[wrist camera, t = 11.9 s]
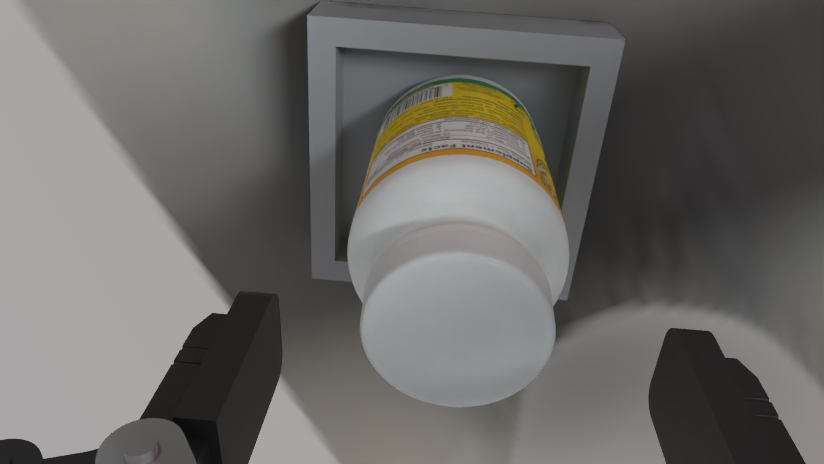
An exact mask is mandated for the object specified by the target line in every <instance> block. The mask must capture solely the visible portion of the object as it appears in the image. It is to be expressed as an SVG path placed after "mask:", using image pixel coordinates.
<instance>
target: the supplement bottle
mask: <svg viewBox="0 0 824 464" xmlns="http://www.w3.org/2000/svg"><path fill="white" fill-rule="evenodd" d="M347 257H348V266H349V272H350V276H351V279H352V283H353V285H354V288H355V291H356V292H357V294H358V296H359V298H360V300H361V302H362V303H363V305H362V311H361V317H360V336H361V341H362V345H363V348H364V351H365V353H366V356H367V358H368V360H369V361H370V363H371V364H372V366H373V367H374V369H375V370H376V371H377V372H378V373H379V375H380V376H381V377H382V378H383V379H384V380H385V381H387V382H388V383H389V384H390V385H392V386H393V387H394V388H396V389H398V390H399V391H401V392H403V393H404V394H406V395H408V396H411V397H413V398H415V399H418V400H421V401H424V402H427V403H430V404H435V405H441V406H448V407H472V406H479V405H487V404H491V403H494V402H497V401H500V400H502V399H505V398H507V397H509V396H511V395H513V394H515V393H517V392H518V391H520V390H522V389H523V388H525V387H526V386H527V385H528V384H530V383H531V382H532V381H533V380H534V379H535V378H536V377H537V376H538V374H539V373H540V372H541V371H542V370H543V368H544V366H545V365H546V363H547V362H548V360H549V358H550V355H551V353H552V349H553V346H554V342H555V338H556V327H555V318H554V310H553V306H554V304H555V303H556V301H557V299H558V297H559V295H560V293H561V291H562V289H563V286H564V283H565V280H566V277H567V273H568V266H569V243H568V237H567V232H566V227H565V223H564V220H563V216H562V213H561V210H560V206H559V201H558V198H557V195H556V191H555V188H554V185H553V181H552V177H551V174H550V172H549V169H548V166H547V161H546V159H545V155H544V152H543V148H542V144H541V141H540V138H539V135H538V133H537V130H536V128H535V126H534V123H533V121H532V118H531V116H530V115H529V113H528V111H527V109H526V108H525V106H524V105H523V104H522V102H521V101H520V100H519V99H518V98H517V97H516V96H515V95H514V94H513V93H511V92H510V91H509V90H507V89H506V88H504V87H503V86H501V85H499V84H497V83H495V82H493V81H490V80H487V79H484V78H481V77H476V76H471V75H448V76H441V77H437V78H434V79H430V80H428V81H425V82H423V83H421V84H419V85H417V86H415V87H413V88H412V89H410V90H409V91H407V92H406V93H405V94H404V95H402V96H401V97H400V98H399V99H398V100H397V101H396V102H395V103H394V105H393V106H392V107H391V108H390V110H389V111H388V113H387V114H386V116H385V118H384V120H383V122H382V124H381V126H380V129H379V131H378V135H377V140H376V143H375V146H374V150H373V153H372V157H371V160H370V163H369V167H368V171H367V174H366V178H365V181H364V185H363V189H362V192H361V195H360V199H359V202H358V205H357V209H356V212H355V215H354V218H353V222H352V225H351V229H350V233H349V239H348V249H347Z"/></svg>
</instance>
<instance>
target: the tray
mask: <svg viewBox="0 0 824 464" xmlns="http://www.w3.org/2000/svg"><path fill="white" fill-rule="evenodd" d="M307 41H308V99H309V156H310V214H311V271H312V279H322V280H334V281H346V282H352V279H351V276H350V272H349V266H348V257H347V249H348V239H349V233H350V229H351V225H352V222H353V218H354V215H355V212H356V209H357V205H358V202H359V199H360V195H361V192H362V189H363V185H364V181H365V178H366V174H367V171H368V167H369V163H370V160H371V157H372V153H373V150H374V146H375V143H376V140H377V135H378V131H379V129H380V126H381V124H382V122H383V120H384V118H385V116H386V114H387V113H388V111H389V110H390V108H391V107H392V106H393V105H394V103H395V102H396V101H397V100H398V99H399V98H400V97H401V96H402V95H404V94H405V93H406V92H407V91H409V90H410V89H412V88H413V87H415V86H417V85H419V84H421V83H423V82H425V81H428V80H430V79H434V78H437V77H441V76H448V75H471V76H476V77H481V78H484V79H487V80H490V81H493V82H495V83H497V84H499V85H501V86H503V87H504V88H506V89H507V90H509V91H510V92H511V93H513V94H514V95H515V96H516V97H517V98H518V99H519V100H520V101H521V102H522V104H523V105H524V106H525V108H526V109H527V111H528V113H529V115H530V116H531V118H532V121H533V123H534V126H535V128H536V130H537V133H538V135H539V138H540V141H541V144H542V148H543V152H544V155H545V159H546V161H547V166H548V169H549V172H550V174H551V177H552V181H553V185H554V188H555V191H556V195H557V198H558V201H559V206H560V210H561V213H562V216H563V220H564V223H565V227H566V232H567V237H568V243H569V266H568V273H567V277H566V280H565V283H564V286H563V289H562V291H561V293H560V295H559V297H558V299H557V300H567V299H568V295H569V290H570V286H571V281H572V277H573V272H574V268H575V263H576V259H577V255H578V250H579V246H580V241H581V237H582V232H583V228H584V223H585V219H586V215H587V210H588V206H589V201H590V197H591V192H592V188H593V183H594V179H595V175H596V170H597V166H598V161H599V157H600V152H601V148H602V143H603V139H604V134H605V130H606V126H607V121H608V117H609V112H610V108H611V103H612V99H613V94H614V90H615V86H616V81H617V77H618V72H619V68H620V63H621V59H622V54H623V50H624V46H625V41H626V40H625V39H624V38H623V37H622V36H621V35H620V33H619V32H618V31H617V30H616V29H615V28H614V27H613V26H612V25H611V24H610V23H607V22H594V21H581V20H568V19H555V18H542V17H530V16H517V15H504V14H491V13H478V12H465V11H452V10H439V9H426V8H413V7H400V6H387V5H374V4H361V3H348V2H335V1H322V0H321V1H320V2H319V3H318V4H317V5H316V6H315V8H314V9H313V10H312V11H311V12H310V13H309V14H308V15H307Z"/></svg>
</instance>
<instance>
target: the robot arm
mask: <svg viewBox="0 0 824 464" xmlns="http://www.w3.org/2000/svg"><path fill="white" fill-rule="evenodd" d="M281 365H282V340H281V326H280V311H279V300H278V296H277V295H276V294H269V293H257V292H245V291H241V292H239V293H238V295H237V297H236V299H235V300H234V302H233V304H232V306H231V308H230V310H229V312H228V314H216V313H212V314H211V315H209V316H208V317H207V318H206V319H204V320H203V321H202V322H200V323H199V324H198V325H197V326H195V327H194V328H193V329H192V331H191V333H190V334H189V336H188V338H187V339H186V341H185V343H184V345H183V348H182V350H180V351H179V353H178V355H177V357H176V358H175V360H174V364H173V365H171V367H170V368H169V370H168V372H167V374H166V375H165V377H164V379H163V381H162V382H161V384H160V385H159V387H158V389H157V391H156V392H155V394H154V396H153V398H152V399H151V401H150V403H149V405H148V406H147V408H146V409H145V411H144V413H143V414H142V416H141V418H140V419H139V420H137V421H134V422H131V423H128V424H126V425H124V426H122V427H120V428H118V429H117V430H115V431H114V432H113V433H111V434H110V435H109V436H108V437H107V438H106V439H105V440H104V441H103V443H102V444H101V445H100V447H99V449H96V450H92V451H88V452H83V453H77V454H71V455H65V456H59V457H53V458H47V459H43V457H42V454H41V452H40V450H39V448H38V447H37V446H35V444H33V443H31V442H29V441H26V440H22V439H5V440H0V464H248V462H249V460H250V457H251V454H252V451H253V449H254V446H255V443H256V440H257V438H258V435H259V432H260V430H261V427H262V424H263V421H264V419H265V416H266V413H267V410H268V408H269V405H270V402H271V399H272V397H273V394H274V391H275V388H276V386H277V383H278V380H279V376H280V371H281ZM649 409H650V415H651V418H652V421H653V424H654V427H655V430H656V433H657V436H658V439H659V443H660V446H661V449H662V452H663V455H664V457H665V461H666V464H805V462H804V460H803V458H802V456H801V455H800V453H799V451H798V449H797V448H796V446H795V444H794V442H793V440H792V439H791V437H790V435H789V433H788V432H787V430H786V428H785V426H784V424H783V423H782V421H781V420H779V419H778V414H777V412H776V410H775V409H774V406H773V405H772V403H771V402H769V398H768V396H767V394H766V392H765V390H764V389H763V387H762V385H761V383H760V382H759V380H758V378H757V377H756V376H755V375H754V374H753V373H752V372H751V371H749V370H748V369H747V368H746V367H745V366H744V365H743V364H742V363H741V362H740V361H739V360H737V359H734V358H725V357H724V355H723V353H722V351H721V349H720V347H719V345H718V343H717V341H716V339H715V337H714V336H713V334H712V333H711V332H709V331H701V330H688V329H676V328H671V329H669V330H668V332H667V333H666V336H665V338H664V342H663V345H662V348H661V351H660V354H659V358H658V361H657V364H656V368H655V371H654V374H653V377H652V380H651V384H650V389H649Z"/></svg>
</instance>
